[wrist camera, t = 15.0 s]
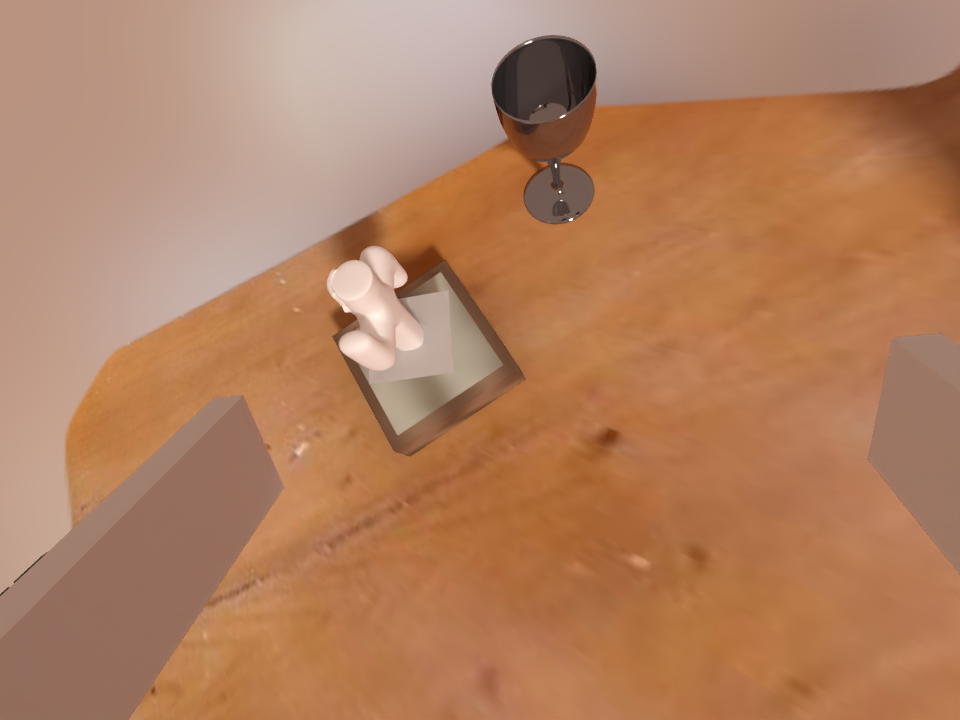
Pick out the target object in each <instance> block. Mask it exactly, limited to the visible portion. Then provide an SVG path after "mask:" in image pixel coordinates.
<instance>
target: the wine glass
mask: <svg viewBox="0 0 960 720" xmlns="http://www.w3.org/2000/svg"><path fill="white" fill-rule="evenodd" d="M491 85H492V95H493V99H494V103H495V107H496V110H497V113H498V116H499V119H500V122H501V124H502V126H503V128H504V130H505V132H506V134H507V136H508V138H509V139H510V141H511V142H512V144H513V145H514V146H515V148H516V149H517V150H518V151H519V152H520V153H522V154H523V155H524V156H526V157H528V158H530V159H533V160H536V161H542V162H548V165H549V166H546V167H544V168H542V169H541V170H539V171H538V172H536V173H535V174H534V175H533V176H532V177H531V179H530V180H529V182H528V183H527V185H526V188H525V192H524V202H525V206H526V208H527V210H528V211H529V213H530V214H531V215H532V216H533V217H535V218H536V219H538V220H539V221H542V222H545V223H549V224H562V223H566V222H570V221H572V220H574V219H576V218H578V217H579V216H581V215H582V214H583V213H584V212H585V211H586V210H587V209H588V207H589V206H590V204H591V202H592V200H593V196H594V184H593V181H592V179H591V177H590V176H589V174H588V173H587V172H586V171H585V170H583V169H582V168H580V167H578V166H576V165H573V164H568V163H560V162H561V159H562V158H564V157H566V156H568V155H569V154H571V153H572V152H574V151H575V150H576V149H577V148H578V147H579V146H580V145H581V144H582V142H583V141H584V139H585V137H586V135H587V133H588V131H589V129H590V125H591V122H592V119H593V116H594V110H595V105H596V94H597V72H596V64H595V60H594V57H593V55H592V54H591V52H590V51H589V49H588V48H587V47H586V46H584V45H583V44H582V43H580V42H578V41H577V40H575V39H572V38H569V37H565V36H557V35H550V36H541V37H537V38H534V39H531V40H528V41H525V42H523V43H522V44H520V45H518V46H516V47H515V48H514V49H512V50H511V51H510V52H508V54H506V55H505V56H504V58H503V59H502V60H501V61H500V63H499V64H498V66H497V68H496V69H495V72H494V74H493V78H492V84H491Z"/></svg>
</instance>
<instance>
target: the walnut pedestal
mask: <svg viewBox="0 0 960 720" xmlns="http://www.w3.org/2000/svg"><path fill="white" fill-rule="evenodd" d="M447 290H448V293H449V308H450V323H451V337H452V352H453V367H454V373H447V374H440V375H433V376H426V377H419V378H412V379H405V380H398V381H391V382H384V383H377V384H370V385H369V369H368V368H366V367H364V366H362V365H361V364H359V363H357V362H356V361H354V360H353V359H351V358H350V357H348V356H346V355H345V354H344V353H343V352H342V351H341V350H340V348H339V340H340V338H341V337H342V336H343V335H344V334H346V333H348V332H351V331H357V330H360V325H359V322H358V319H357V320H356V321H354V322H353V323H351V324H350V325H348V326H347V327H345V328H344V329H342V330H341V331H339V332H338V333H336V334H335V335H333V336H332V337H333V339H334V341H335V342H336V344H337V346H338V348H339V350H340V352H341V354H342V355H343V357H344V359H345V361H346V363H347V365H348V367H349V368H350V370H351V372H352V374H353V376H354V378H355V380H356V381H357V383H358V385H359V387H360V389H361V391H362V393H363V394H364V396H365V398H366V400H367V402H368V404H369V406H370V407H371V409H372V411H373V413H374V415H375V417H376V419H377V420H378V422H379V424H380V426H381V428H382V430H383V432H384V434H385V435H386V437H387V439H388V441H389V443H390V445H391V447H392V448H393V450H394V451H395V452H398V453H401V454H404V455H407V456H412V455H413V454H415V453H416V452H418V451H419V450H421V449H422V448H424V447H425V446H427V445H428V444H430V443H431V442H433V441H434V440H436V439H437V438H439V437H440V436H442V435H443V434H445V433H446V432H448V431H449V430H451V429H452V428H454V427H455V426H457V425H458V424H460V423H461V422H462V421H464V420H465V419H467V418H468V417H470V416H471V415H473V414H474V413H476V412H477V411H479V410H480V409H482V408H483V407H485V406H486V405H488V404H489V403H491V402H492V401H494V400H495V399H497V398H498V397H500V396H501V395H503V394H504V393H506V392H507V391H509V390H510V389H512V388H513V387H515V386H516V385H518V384H519V383H521V382H522V381H524V380H525V377H524V375H523V373H522V371H521V370H520V368H519V366H518V365H517V363H516V362H515V361H514V359H513V358H512V356H511V355H510V353H509V352H508V350H507V349H506V347H505V346H504V344H503V343H502V342H501V340H500V339H499V337H498V336H497V334H496V333H495V331H494V330H493V328H492V327H491V326H490V324H489V323H488V321H487V320H486V318H485V317H484V315H483V314H482V312H481V311H480V310H479V308H478V307H477V305H476V304H475V302H474V301H473V299H472V298H471V296H470V295H469V294H468V292H467V291H466V289H465V288H464V286H463V285H462V283H461V282H460V280H459V279H458V278H457V276H456V275H455V273H454V272H453V270H452V269H451V267H450V266H449V264H448V263H447V262H446V260H444V261H443V262H441V263H440V264H438V265H437V266H435V267H434V268H432V269H431V270H429V271H428V272H426V273H425V274H423V275H422V276H420V277H419V278H417V279H416V280H415V281H413V282H412V283H410V284H409V285H407V286H406V287H404V288H403V289H401V290H400V291H398V292H397V293H395V294H396V296H397V298H398V299H401V298H407V297H413V296H418V295H424V294H430V293H436V292H442V291H447Z"/></svg>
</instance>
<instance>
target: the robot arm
mask: <svg viewBox="0 0 960 720" xmlns="http://www.w3.org/2000/svg"><path fill="white" fill-rule="evenodd" d="M868 461H869V462H870V463H871V464H872V466H873V467H874V468H875V469H876V471H877V472H878V473H879V474H880V476H881V477H882V478H883V479H884V481H885V482H886V483H887V484H888V486H889V487H890V488H891V489H892V491H893V492H894V493H895V494H896V496H897V497H898V498H899V499H900V501H901V502H902V503H903V504H904V506H905V507H906V508H907V509H908V511H909V512H910V513H911V514H912V516H913V517H914V518H915V519H916V521H917V522H918V523H919V524H920V526H921V527H922V528H923V529H924V531H925V532H926V533H927V534H928V536H929V537H930V538H931V539H932V541H933V542H934V543H935V544H936V546H937V547H938V548H939V549H940V551H941V552H942V553H943V554H944V556H945V557H946V558H947V559H948V561H949V562H950V563H951V564H952V566H953V567H954V568H955V569H956V571H957V572H958V573H959V574H960V345H958V344H957V343H955V342H954V341H952V340H951V339H949V338H948V337H946V336H945V335H943V334H942V333H939V334H928V335H916V336H905V337H894V338H892V341H891V346H890V351H889V356H888V361H887V366H886V371H885V376H884V381H883V386H882V391H881V396H880V401H879V406H878V411H877V416H876V421H875V426H874V431H873V436H872V441H871V446H870V451H869V456H868ZM283 489H284V485H283V483H282V481H281V479H280V477H279V474H278V472H277V470H276V468H275V465H274V463H273V461H272V459H271V457H270V454H269V452H268V450H267V448H266V445H265V443H264V441H263V439H262V437H261V434H260V432H259V430H258V428H257V425H256V423H255V421H254V419H253V417H252V414H251V412H250V410H249V408H248V405H247V403H246V401H245V399H244V397H243V395H242V396H231V397H220V398H213V399H212V400H211V401H210V402H209V403H208V404H207V405H206V406H205V407H204V408H203V409H202V410H200V411H199V412H198V413H197V414H196V415H195V416H194V417H193V418H192V419H191V420H190V421H189V422H188V423H186V424H185V425H184V426H183V427H182V428H181V429H180V430H179V431H178V432H177V433H176V434H175V435H174V436H172V437H171V438H170V439H169V440H168V441H167V442H166V443H165V444H164V445H163V446H162V447H161V448H160V449H158V450H157V451H156V452H155V453H154V454H153V455H152V456H151V457H150V458H149V459H148V460H147V461H145V462H144V463H143V464H142V465H141V466H140V467H139V468H138V469H137V470H136V471H135V472H134V473H133V474H131V475H130V476H129V477H128V478H127V479H126V480H125V481H124V482H123V483H122V484H121V485H120V486H119V487H117V488H116V489H115V490H114V491H113V492H112V493H111V494H110V495H109V496H108V497H107V498H106V499H105V500H103V501H102V502H101V503H100V504H99V505H98V506H97V507H96V508H95V509H94V510H93V511H92V512H91V513H89V514H88V515H87V516H86V517H85V518H84V519H83V520H82V521H81V522H80V523H79V524H78V525H77V526H75V527H74V528H73V529H72V530H71V531H70V532H69V533H68V534H67V535H66V536H65V537H64V538H63V539H61V540H60V541H59V542H58V543H57V544H56V545H55V546H54V547H53V548H52V549H51V550H50V551H49V552H47V553H46V554H44V555H43V556H41V557H40V558H39V559H38V560H37V561H36V562H35V563H34V564H33V565H32V566H31V567H29V568H28V569H27V570H26V571H25V572H24V573H23V574H22V575H21V576H20V577H19V578H18V579H17V580H15V581H14V584H13V585H12V586H11V587H8V588H7V589H6V590H5V591H4V592H2V593H1V594H0V720H129V718H130V717H131V715H132V714H133V712H134V711H135V709H136V708H137V706H138V705H139V703H140V702H141V700H142V699H143V697H144V696H145V694H146V693H147V691H148V690H149V688H150V687H151V685H152V684H153V682H154V681H155V679H156V678H157V676H158V675H159V673H160V672H161V670H162V669H163V667H164V666H165V664H166V663H167V662H168V660H169V659H170V657H171V656H172V654H173V653H174V651H175V650H176V648H177V647H178V645H179V644H180V642H181V641H182V639H183V638H184V636H185V635H186V633H187V632H188V630H189V629H190V627H191V626H192V624H193V623H194V621H195V620H196V618H197V617H198V615H199V614H200V612H201V611H202V609H203V608H204V606H205V605H206V603H207V602H208V600H209V599H210V598H211V596H212V595H213V593H214V592H215V590H216V589H217V587H218V586H219V584H220V583H221V581H222V580H223V578H224V577H225V575H226V574H227V572H228V571H229V569H230V568H231V566H232V565H233V563H234V562H235V560H236V559H237V557H238V556H239V554H240V553H241V551H242V550H243V548H244V547H245V545H246V544H247V542H248V541H249V539H250V538H251V536H252V535H253V533H254V532H255V531H256V529H257V528H258V526H259V525H260V523H261V522H262V520H263V519H264V517H265V516H266V514H267V513H268V511H269V510H270V508H271V507H272V505H273V504H274V502H275V501H276V499H277V498H278V496H279V495H280V493H281V492H282V490H283Z"/></svg>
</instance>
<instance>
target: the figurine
mask: <svg viewBox="0 0 960 720" xmlns="http://www.w3.org/2000/svg"><path fill="white" fill-rule="evenodd" d="M407 278H408V276H407V273H406V271H405V270H404V269H403V268H402V266H401V265H400V264H399V262H398V261H397V260H396V259H395V257H394V256H393V255H392V254H391V253H390V252H389V251H388V250H386V249H384V248H383V247H380V246H370V247H367V248H365V249H364V250H363V251H362V253H361V255H360V260H350V261H347V262H345V263H343V264H342V265H340V266H339V267H338V268H337V269H333V270H332V271H331V272H330V274H329V276H328V279H327V288H328V291H329V293H330V295H331V296H332V297H333V298H334V299H335V300H336V301H337V302H339V303H340V304H339V305H340V306H342V307H343V310H344V312H345V313H348V312H351V313H352V314H355V316H356V317H357V319H358V322H359V325H360V330H357V331H351V332H348V333H346V334H344V335H343V336H342V337H341V338H340V340H339V348H340V350H341V351H342V352H343V353H344V354H345V355H346V356H348V357H350V358H351V359H353V360H354V361H356V362H357V363H359V364H361V365H362V366H364V367H366V368H368V369H369V385H370V384H377V383H384V382H391V381H398V380H405V379H412V378H419V377H426V376H433V375H440V374H447V373H454V367H453V352H452V337H451V323H450V308H449V293H448V290H447V291H442V292H436V293H430V294H424V295H418V296H413V297H407V298H401V299H398V298H397V296H396V294H395V292H394V288H398V287H401V286H403V285H404V284H405V283H406V281H407Z"/></svg>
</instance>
